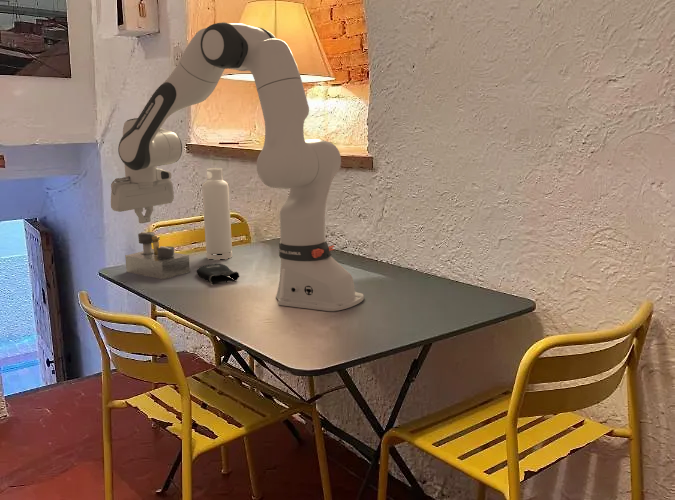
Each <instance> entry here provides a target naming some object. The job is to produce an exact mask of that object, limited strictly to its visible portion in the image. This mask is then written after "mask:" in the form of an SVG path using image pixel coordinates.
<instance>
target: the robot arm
mask: <svg viewBox="0 0 675 500" xmlns="http://www.w3.org/2000/svg"><path fill="white" fill-rule="evenodd" d="M228 69H229V70H236V71H239V72H250V73H251V75H252V77H253V79H254V84H255V88H256V91H257V96H258V99H259V103H260V107H261V110H262V115H263V119H264V121H263V122H264V130H265V131H264V142H263V146H262V149H261V151H260V153H259V154H258V157H257V159H256V171H257V175H258V177H259V180H261V183H263V184H264V185H266V187H270V188H271V189H272V188H273V189H274V188H275V189H280V190H281V189H282V190H288V189H290V190H289V193H288V197H287V198H286V201H285V203H283V205H282V206H281V208H280V211H279V230H280V231H279V235H280V241H279V242H278V255H279V257H280V270H279V271H280V272H279V280H278V286H277V291H276V295H275V299H277V301H278V302H277V303H278V305H279V306H286V307H293V308H300V309H301V308H302V309H309V310H318V311H326V312H337V311H341V310H345V309H349V308H352V307H355V306H356V305H358V304H360V303H361V302H363V301H364V300H365V297H364V293H361V292H357V291H356V290H355V284H354V283H355V282H354V279H353V278H354V277H353V276H352V274H351V273H350V272H349V271H348V270H347V269H345V268H344V267H343V266H342V265H341V264H340V263H339V262H338V261H337V260H336V259H335V258H334V257H332V252H331V251H334V250H335V245H331V246H329V244H328V242H327V240H326V238H325V237H326V229H325V228H326V226H325V225H326V223H325V222H326V206H327V200H328V197H329V192H330V189H331V186H332V183H333V180H334V179H335V177H336V175H337V173H338V172H339V171H340V169H341V165H342V158H341V157H342V156H341V153H340V151H339V149H338V147H337V146H336V145H335V144H333V143H332V142H331V141H327V140H323V139H320V138H319V139H318V138H311V139H310V138H309V139H305V137H304V127H305V126H304V124H305V120H306V119H307V118H308V116H309V113H310V107H309V103H308V100H307V95H306V92H305V88H304V83H303V80H302V78H301V74H300V70H299V68H298V64H297V62H296V59H295V57H294V55H293V53H292V51H291V48H290V47H289V45H288V44H287V43H286V41H284V40H282V39H279V38H277V37H276V36H275V35H274V34H273V33H272V32H270V31H269V30H267V29H265V28H263V27H255V26H251V25H247V24H245V23H235V22H233V23H229V22H225V21H223V22H216V23H213V24H210V25H209V26H207V27H204V28H201V29H200V30H198V31H197V32H196V33H195V35H194V36H193V37H192V38H191V39H190V41H189V43H188V44H187V45H186V47H185V49H184V51H183V53H182V55H181V57H180V59H179V61H178V62H177V65H176V66H175V68H173V71H172V72H171V73H170V75H169V76H168V77H167V78H166V79H165V80H164V81H163V83H162V84H160V86H158V87H157V89H155V90H154V92H153V94H152V95H151V97H150V98H149V100H148V101H147V103H146V105H145V106H144V108H143V109H142V111H141V112H140V114H139V115H138V117H136V118H135V117H134V118H130V119H127V120H126V121H125V122H124V123H123V126H122V136H121V138H120V141H119V144H118V152H117V153H118V155H119V158H120V161H122V163H123V164H124V177H118V178H115V179H114V180H113V181H112V183H110V184H111V185H110V187H111V188H110V189H111V190H110V191H111V192H110V208H111V210H112V211H114V212H119V213H120V212H122V213H123V212H127V211H132V210H133V211H134V214H136V216H137V219H138V224H145V223H149V222H151V216H152V214H153V212H154V207H157V206H161V205H167V204H168V205H169V204H172V203H173V201H174V198H175V194H174V193H175V192H174V186H173V185H174V184H173V182H172V180H171V178H172V171H168V170H164V169H162V168H157V167H161V166H166V165H172V164H174V163H177V162H178V161H179V160H180V159H181V156H182V153H183V144H182V140H181V138H180V137H179V135H178V134H177V133H176V132H175V131H172V130H170V129H169V130H168V129H165V128H163V125H164V124H165V122H166V120H168V118H169V117H170V116H171V115H173V114H174V113H176V112H178V111H180V110H183V109H185V108H187V107H190V106H191V107H192V106H194V105H198V104H200V103H202V102H204V101H206V100H207V99H208V98H209V97H210V96H211V95H212V94H213V92H214V91H215V89H216V88H217V85H218V83H219V82H220V80H221V77H222V76H223V73H224V72H225V70H228ZM144 210H145V213H144V214H143V212H144Z"/></svg>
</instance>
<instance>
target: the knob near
mask: <svg viewBox="0 0 675 500" xmlns="http://www.w3.org/2000/svg"><path fill="white" fill-rule="evenodd" d="M174 248H175V247H174V246H164V245H163V246H162V245H161V246H160V245H159V248H157V251H158V258H162V259H167V258H172V257H174V253H175V249H174Z"/></svg>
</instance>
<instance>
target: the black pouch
mask: <svg viewBox="0 0 675 500" xmlns="http://www.w3.org/2000/svg"><path fill="white" fill-rule="evenodd" d="M196 273H197V275H198V277H199V278H201V279H202V280H204V281H207V282H208V283H210V285H211V284H212V283H213V282H212V276H215V277H219V276H230V277H231V278H233V279H234V280H236V281H237V280H238V279H239V278H240V273H239V272H238V271H233V270H231V269H230V267H229V266H228V265H225V264H223V263H211V264H205V265H201V266H199V267H198V268H197V269H196ZM227 281H228V280H226V283H228V282H227Z"/></svg>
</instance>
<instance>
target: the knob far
mask: <svg viewBox="0 0 675 500" xmlns="http://www.w3.org/2000/svg"><path fill="white" fill-rule="evenodd" d="M152 236H156V235H155V233H154V232H152V231H148V232H147V231H141V232H140V233H137V237H138V238H137V239H138V243H139V244H142V249H143V250H142V251H144V255H151V254H152V249H153V248H152V245H153V240H152Z"/></svg>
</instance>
